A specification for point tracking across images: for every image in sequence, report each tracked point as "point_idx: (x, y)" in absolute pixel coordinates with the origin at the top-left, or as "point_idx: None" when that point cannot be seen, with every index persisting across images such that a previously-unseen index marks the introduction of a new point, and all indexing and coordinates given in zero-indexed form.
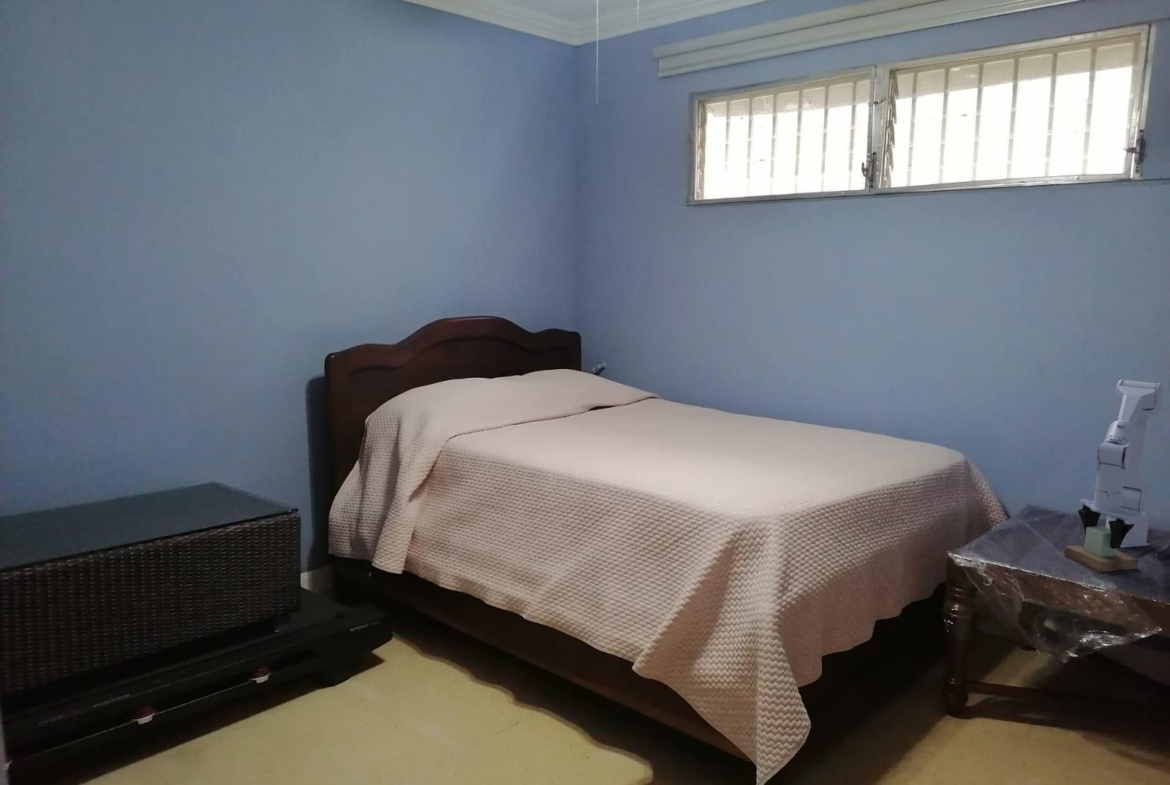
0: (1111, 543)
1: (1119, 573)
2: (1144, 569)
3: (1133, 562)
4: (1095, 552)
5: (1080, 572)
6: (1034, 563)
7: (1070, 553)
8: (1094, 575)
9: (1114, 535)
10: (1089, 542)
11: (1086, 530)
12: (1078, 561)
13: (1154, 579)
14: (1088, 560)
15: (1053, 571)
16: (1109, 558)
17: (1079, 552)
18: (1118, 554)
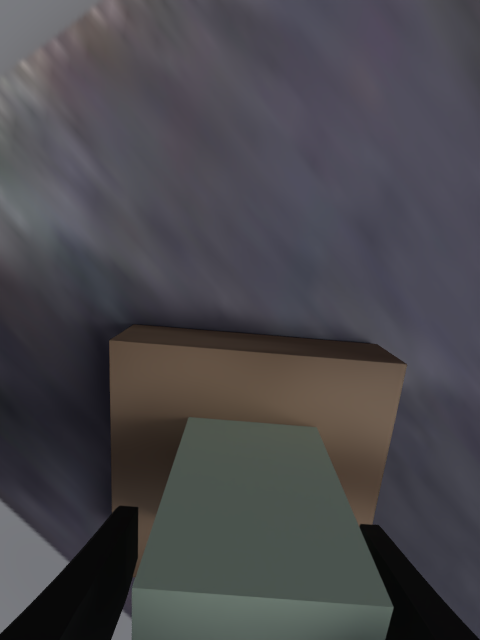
0: (107, 535)
1: None
2: None
3: None
4: (226, 428)
5: (164, 224)
6: (361, 54)
7: (346, 350)
8: (111, 264)
9: (3, 637)
10: (291, 468)
11: (371, 561)
12: (277, 337)
13: (20, 493)
14: (209, 341)
15: (217, 61)
16: (154, 446)
17: (289, 359)
18: None
